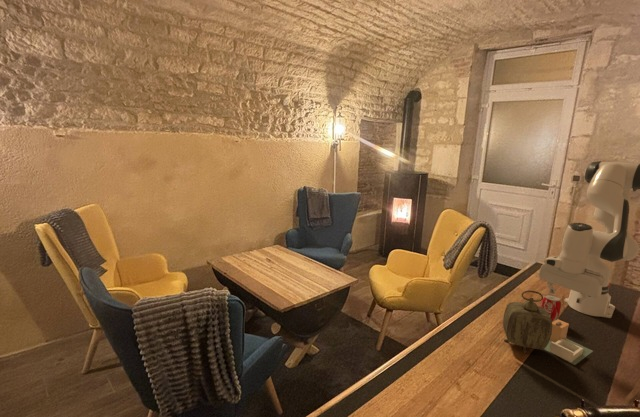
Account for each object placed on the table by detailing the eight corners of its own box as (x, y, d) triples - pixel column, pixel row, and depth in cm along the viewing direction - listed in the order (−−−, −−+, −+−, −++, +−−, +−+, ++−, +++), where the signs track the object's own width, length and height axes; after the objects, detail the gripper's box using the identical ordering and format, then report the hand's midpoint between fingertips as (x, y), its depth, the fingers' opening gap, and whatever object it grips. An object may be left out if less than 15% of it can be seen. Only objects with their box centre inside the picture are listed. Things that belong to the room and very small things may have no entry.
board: (537, 327, 144) (537, 325, 143) (592, 353, 127) (593, 350, 127) (517, 338, 135) (518, 336, 135) (574, 367, 119) (574, 365, 119)
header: (560, 343, 131) (562, 335, 130) (581, 354, 125) (584, 344, 124) (549, 351, 126) (551, 342, 125) (570, 362, 120) (573, 352, 119)
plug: (554, 334, 137) (558, 317, 135) (565, 339, 134) (569, 322, 132) (547, 338, 134) (551, 321, 132) (558, 343, 131) (562, 326, 129)
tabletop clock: (540, 348, 129) (552, 289, 124) (547, 362, 121) (560, 300, 116) (499, 339, 134) (509, 283, 128) (503, 353, 126) (514, 293, 120)
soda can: (560, 327, 144) (565, 302, 142) (542, 324, 146) (547, 300, 143) (552, 318, 151) (557, 294, 148) (535, 316, 152) (540, 292, 150)
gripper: (609, 273, 120) (600, 307, 123) (547, 255, 137) (541, 286, 140) (602, 276, 117) (593, 312, 120) (539, 257, 134) (533, 289, 137)
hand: (565, 297), depth 130 cm, fingers open, 8 cm apart
